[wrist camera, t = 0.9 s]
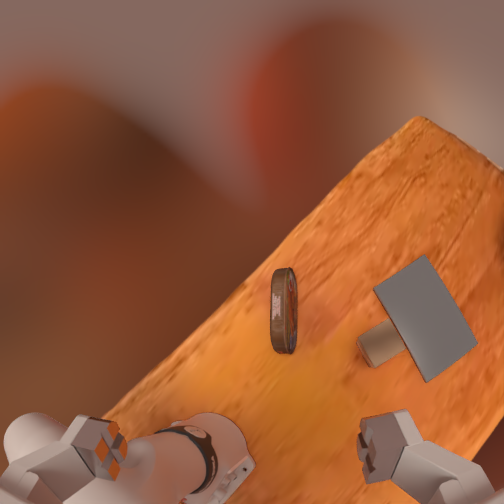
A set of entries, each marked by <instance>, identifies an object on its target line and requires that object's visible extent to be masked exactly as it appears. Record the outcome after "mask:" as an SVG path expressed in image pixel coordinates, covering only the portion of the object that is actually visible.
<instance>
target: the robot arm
mask: <svg viewBox="0 0 504 504" xmlns="http://www.w3.org/2000/svg"><path fill="white" fill-rule="evenodd" d="M360 429H361V432H360V433H359V434H358V437H357V452H358V456H359V460H361V461H362V462H364V465H363V468H362V471H363V474H364V478H365V481H366V484H371V483H376V482H380V481H385V480H389V479H391V481H393V482H394V483H395V484H396V485H398V486H399V487H400V488H401V489H403V490H404V491H405V492H406V493H408V494H409V495H410V496H412V497H413V498H414V499H416V500H417V501H418V502H420V503H421V504H504V488H502V489H501V490H499V491H497V492H495V491H494V489H493V487H492V486H491V483H490V482H489V480H488V478H487V476H486V475H485V473H484V471H483V469H482V468H481V466H480V465H477V464H475V463H473V462H471V461H469V460H467V459H465V458H463V457H460V456H458V455H456V454H454V453H452V452H450V451H448V450H446V449H444V448H442V447H440V446H438V445H436V444H434V443H433V442H431V441H429V440H427V441H424V440H423V438H422V436H421V434H420V432H419V431H418V429H417V427H416V425H415V423H414V421H413V419H412V417H411V416H410V414H409V412H408V410H406V409H402V410H398V411H394V412H389V413H384V414H380V415H375V416H370V417H365V418H362V419H361V422H360ZM119 430H120V428H119V426H118V424H117V422H114V421H110V420H104V419H100V418H95V417H90V416H85V415H78V416H77V417H76V418H75V419H74V421H73V422H72V424H71V425H70V427H69V428H67V427H65V426H64V425H62V424H61V423H59V422H57V421H55V420H54V419H52V418H51V417H49V416H47V415H45V414H42V413H29V414H25V415H22V416H20V417H19V418H17V419H16V420H14V421H13V422H12V423H11V425H10V426H9V427H8V429H7V431H6V434H5V437H4V449H5V452H6V455H7V458H8V461H9V464H10V465H9V466H8V468H7V469H6V471H5V472H4V473H3V475H2V476H1V478H0V504H179V501H182V502H184V503H186V504H224V503H225V502H226V501H227V500H228V499H229V497H230V496H231V495H232V494H233V493H234V492H235V491H236V490H237V488H238V487H239V486H240V485H241V484H242V483H243V482H244V480H245V479H246V478H247V477H248V476H249V474H250V473H251V472H252V471H253V470H254V468H255V466H256V464H255V461H254V460H253V458H252V457H251V455H250V454H249V452H248V449H247V445H246V441H245V438H244V436H243V434H242V432H241V431H240V429H239V428H238V427H237V426H236V425H235V424H234V423H233V422H232V421H231V420H229V419H228V418H226V417H224V416H222V415H219V414H215V413H200V414H197V415H195V416H193V417H191V418H189V419H187V420H181V421H175V422H173V423H172V424H171V426H170V427H168V428H164V429H162V430H160V431H158V432H156V433H154V434H153V435H148V436H144V437H139V438H135V439H132V440H130V441H129V442H126V440H125V438H124V436H122V435H121V434H120V433H119ZM244 468H246V469H247V471H246V470H244Z"/></svg>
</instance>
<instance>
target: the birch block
mask: <svg viewBox="0 0 504 504" xmlns="http://www.w3.org/2000/svg"><path fill="white" fill-rule="evenodd" d="M356 344H357V346H358V348H359V349H360V351H361V353H362V355H363V357H364V359H365V360H366V362H367V364H368V366H369V367H374V368H376V367H378V366H379V365H381V364H383V363H384V362H386V361H387V360H389V359H391V358H392V357H394V356H395V355H397V354H398V353H400V352H401V351H403V350H405V349H406V347H405V346H404V344H403V342H402V340H401V338H400V337H399V335H398V333H397V331H396V330H395V328H394V326H393V324H392V323H391V321H390V319H389V318H388V319H386V320H385V321H383V322H382V323H380V324H379V325H377V326H375V327H374V328H372V329H371V330H369V331H367V332H366V333H364V334H362V335H361V336H359V337H358V340H357V342H356Z"/></svg>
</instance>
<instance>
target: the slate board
mask: <svg viewBox="0 0 504 504" xmlns="http://www.w3.org/2000/svg"><path fill="white" fill-rule="evenodd" d="M373 291H374V292H375V294H376V295H377V297H378V299H379V300H380V302H381V304H382V305H383V307H384V309H385V310H386V312H387V314H388V316H389V317H390V319H391V321H392V322H393V324H394V326H395V328H396V329H397V331H398V333H399V335H400V336H401V338H402V340H403V342H404V344H405V345H406V347H407V349H408V351H409V353H410V354H411V356H412V358H413V360H414V362H415V364H416V366H417V367H418V369H419V371H420V373H421V375H422V377H423V379H424V381H425V382H426V383H427V382H429V381H430V380H431V379H433V378H434V377H436V376H437V375H438V374H440V373H441V372H443V371H444V370H445V369H447V368H448V367H449V366H451V365H452V364H453V363H455V362H456V361H457V360H458V359H460V358H461V357H462V356H463V355H465V354H466V353H467V352H468V351H470V350H471V349H472V348H473V347H474V346H476V345H477V344H478V342H477V341H476V339H475V337H474V335H473V333H472V331H471V329H470V327H469V326H468V324H467V322H466V320H465V318H464V317H463V315H462V313H461V311H460V310H459V308H458V306H457V304H456V303H455V301H454V299H453V298H452V296H451V294H450V293H449V291H448V290H447V288H446V286H445V285H444V283H443V281H442V280H441V278H440V277H439V275H438V274H437V272H436V271H435V269H434V268H433V266H432V265H431V263H430V262H429V260H428V259H427V257H426V256H425V254H424V255H423V256H421V257H420V258H418V259H417V260H416V261H414V262H413V263H411V264H410V265H408V266H407V267H405V268H404V269H402V270H401V271H399V272H398V273H396V274H395V275H393V276H392V277H390V278H389V279H387V280H386V281H384V282H382V283H381V284H379V285H378V286H376V287H375V288H373Z"/></svg>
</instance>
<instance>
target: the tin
mask: <svg viewBox="0 0 504 504" xmlns="http://www.w3.org/2000/svg"><path fill="white" fill-rule="evenodd" d="M270 336H271V342H272V346H273V349H274V350H275V351H276V352H277V353H281V354H284V353H289V354H292V353H293V352H294V349H295V346H296V341H297V284H296V279H295V275H294V272H293V270H292V268H290V267H289V268H282V269H277V270H275V271H274V273H273V276H272V282H271V310H270Z"/></svg>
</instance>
